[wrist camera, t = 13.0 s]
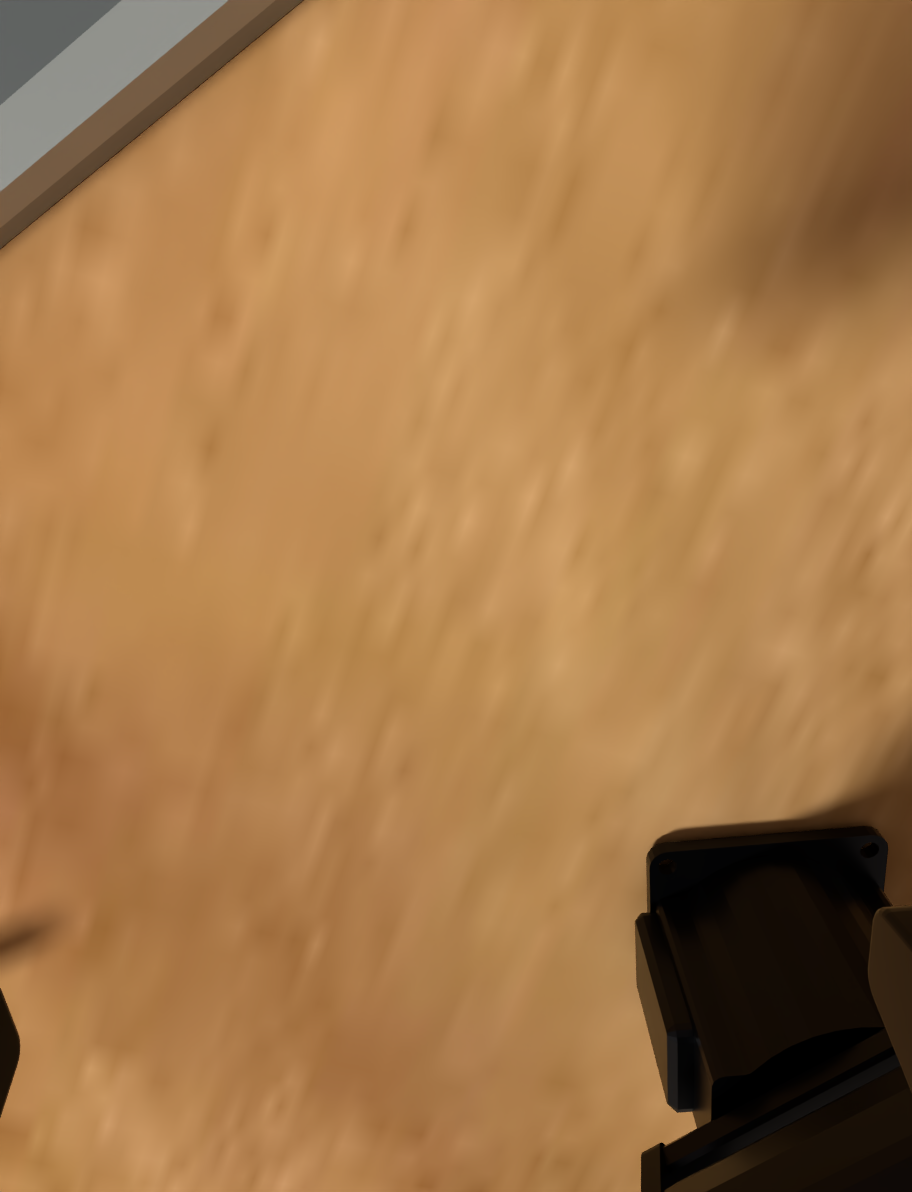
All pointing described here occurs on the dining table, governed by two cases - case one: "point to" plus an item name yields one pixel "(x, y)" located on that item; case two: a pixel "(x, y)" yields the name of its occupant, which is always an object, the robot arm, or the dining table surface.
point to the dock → (101, 82)
